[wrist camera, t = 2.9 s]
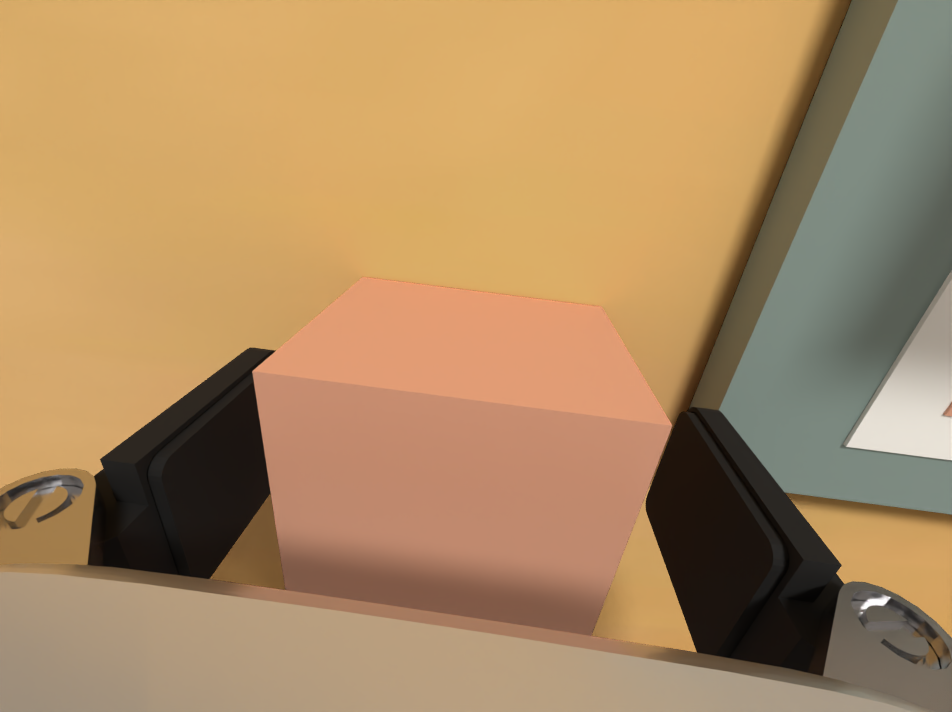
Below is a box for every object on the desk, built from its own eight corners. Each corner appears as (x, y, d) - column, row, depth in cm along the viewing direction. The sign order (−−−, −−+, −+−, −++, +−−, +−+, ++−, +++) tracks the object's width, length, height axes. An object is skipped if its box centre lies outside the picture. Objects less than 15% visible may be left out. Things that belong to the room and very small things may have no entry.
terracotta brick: (555, 488, 13) (579, 665, 9) (365, 462, 13) (291, 624, 9) (601, 306, 10) (673, 425, 6) (362, 276, 10) (252, 371, 6)
